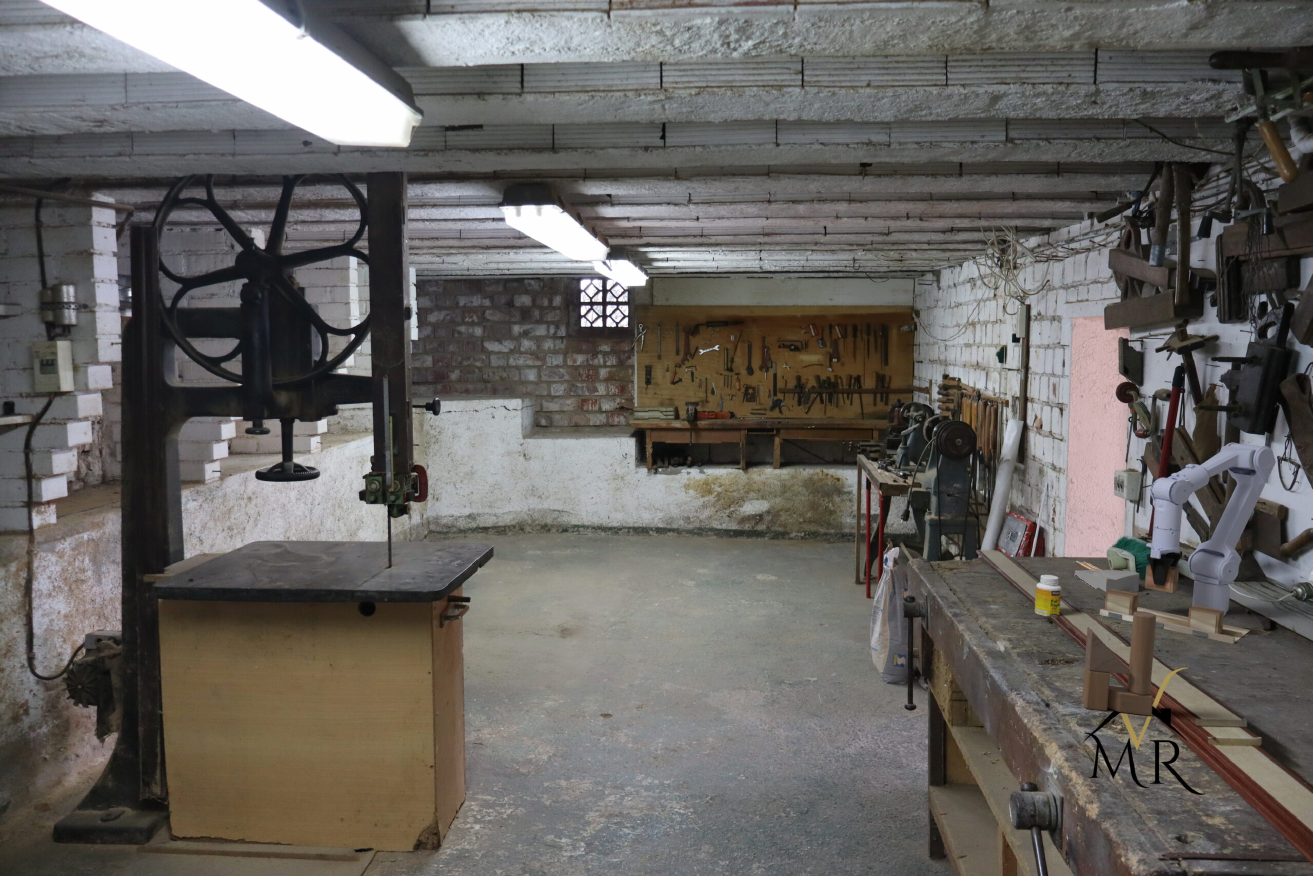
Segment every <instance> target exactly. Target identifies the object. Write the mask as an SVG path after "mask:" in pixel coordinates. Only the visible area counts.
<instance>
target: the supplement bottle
mask: <svg viewBox="0 0 1313 876" xmlns="http://www.w3.org/2000/svg"><path fill="white" fill-rule="evenodd" d="M1039 579H1040V580H1039V581H1040V582H1038V583H1037V584H1036V588H1035V589H1036V590H1035V600H1034V601H1035V602H1034V613H1035V614H1037V615H1039V616H1040V615H1041V616H1043V617H1053V618H1054V617H1058V616H1057V615H1058V614H1059V615H1060V613H1059V612H1060V609H1061V598H1062V586H1061V585H1060V584H1059V577H1058V576H1056V575H1052V574H1042V575H1040V578H1039Z"/></svg>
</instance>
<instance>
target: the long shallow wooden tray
mask: <svg viewBox="0 0 1313 876" xmlns="http://www.w3.org/2000/svg"><path fill="white" fill-rule="evenodd" d="M1137 611H1144V612H1150V613H1153V614H1155V615H1156V627H1155V628H1160V629H1164V630H1167V631H1173V632H1177V633H1183V634H1187V635H1192V636H1196V637H1201V638H1204V639H1205V638H1206V639H1209V640H1214V641H1219V642H1222V643H1223V642H1224V643H1229V644H1232V645H1234V644H1235V643H1236V642H1237V641H1238V640H1240V639H1241V638H1242V637H1244V636H1245V635H1246V634H1247V633H1249V632H1250V631H1251V629H1247V628H1243V627H1237V626H1233V625H1227V624H1224V623H1223V629H1222V634H1217V633H1213V632H1208V631H1203V630H1198V629H1194V628H1189V627H1188V616H1185V615H1179V614H1174V613H1169V612H1166V611H1165V612H1164V611H1159V610H1155V609H1150V608H1146V607H1145V608H1144V607H1140V606H1137ZM1099 615H1100V616H1103V617H1109V618H1114V619H1117V620H1122V621H1127V622H1132V623H1133V616H1132V615H1128V614H1123V613H1118V612H1114V611H1109V610H1105V608H1101V609H1099Z"/></svg>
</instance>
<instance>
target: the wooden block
mask: <svg viewBox="0 0 1313 876" xmlns="http://www.w3.org/2000/svg"><path fill="white" fill-rule="evenodd" d="M1156 628H1157V627H1156V615H1155V614H1153V613H1150V612H1144V611H1136V612H1134V613H1133V622H1132V626H1131V639H1130V649H1129V650H1130V652H1129V664H1128V665H1129V666H1128V667H1127V666H1126V665H1125V664H1124V663H1123V661H1121V659H1119V657H1118V656H1117V655H1116V654H1115V653H1114V652H1113V651H1112V650H1111V649H1110V648H1109V647H1108V645H1107V644H1105V642H1104V641H1103V640H1102V639H1101V638H1100V637H1099V636H1098V635H1097V634H1096V633H1095V632H1094V631H1093V629H1091V628H1090V627H1089V626H1087V631H1086V643H1085V653H1084V654H1085V657H1084V670H1083V681H1082V682H1083V686H1082V697H1081V702H1082V704H1083V705H1084V707H1085V709H1087V710H1088V709H1089V710H1095V711H1096V710H1097V711H1105V712H1106V711H1107V710H1108V709H1110V710H1112V711H1115V712H1118V713H1124V714H1135V715H1141V716H1142V715H1143V716H1152V713H1153V701H1154V700H1153V699H1154V697H1153V695H1152V694H1151V685H1152V674H1153V673H1152V672H1153V661H1154V649H1155V640H1156V638H1155V637H1156V636H1155V635H1156ZM1111 673H1114V674H1124V675H1128V676H1127V687H1124V686H1123V687H1122V686H1115V685H1114V686H1113V685H1110V680H1111V679H1110V677H1111Z"/></svg>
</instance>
